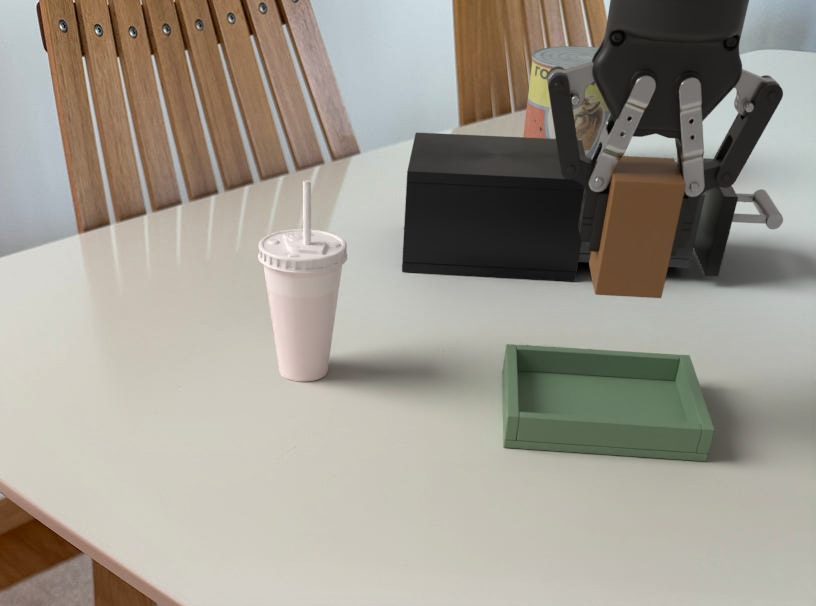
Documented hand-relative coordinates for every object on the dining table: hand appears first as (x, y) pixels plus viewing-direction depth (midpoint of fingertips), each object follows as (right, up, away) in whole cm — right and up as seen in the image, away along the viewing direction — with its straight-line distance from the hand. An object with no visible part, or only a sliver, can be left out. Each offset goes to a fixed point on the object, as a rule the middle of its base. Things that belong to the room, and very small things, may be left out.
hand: (630, 248), depth 68 cm
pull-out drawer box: (+11, +11, +31) cm, 35 cm away
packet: (0, -2, +1) cm, 2 cm away
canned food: (+8, +28, +53) cm, 60 cm away
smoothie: (-22, -5, +13) cm, 25 cm away
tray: (0, -9, +8) cm, 12 cm away
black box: (-4, +12, +33) cm, 35 cm away
